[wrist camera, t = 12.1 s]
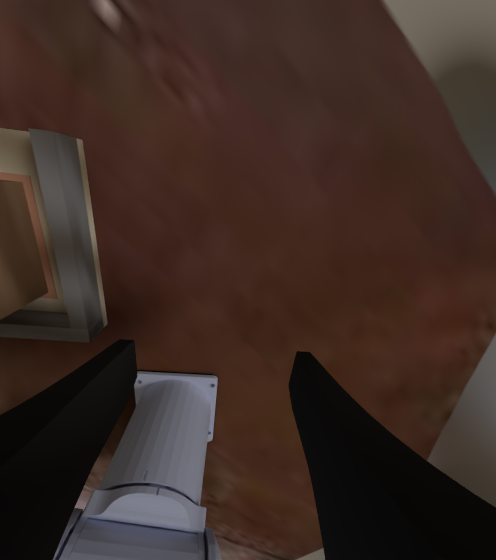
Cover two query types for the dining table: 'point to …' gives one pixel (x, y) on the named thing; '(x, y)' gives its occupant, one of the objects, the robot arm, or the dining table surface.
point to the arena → (56, 236)
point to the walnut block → (18, 251)
